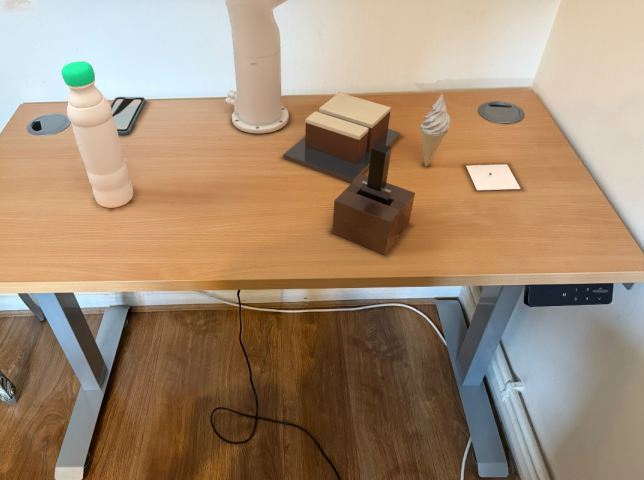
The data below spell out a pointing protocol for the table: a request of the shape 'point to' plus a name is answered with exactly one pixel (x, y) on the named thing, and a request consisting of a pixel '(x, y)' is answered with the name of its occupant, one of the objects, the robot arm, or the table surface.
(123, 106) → the smartphone
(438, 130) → the ice cream cone
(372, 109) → the cake
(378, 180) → the knife
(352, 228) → the knife block
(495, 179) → the coaster
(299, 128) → the table surface
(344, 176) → the cake board
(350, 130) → the cake slice
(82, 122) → the water bottle
